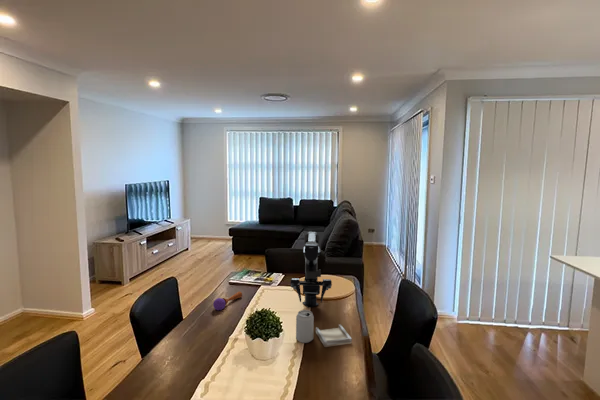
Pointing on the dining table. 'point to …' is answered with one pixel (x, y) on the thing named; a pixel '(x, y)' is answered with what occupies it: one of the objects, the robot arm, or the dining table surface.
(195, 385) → the dining table surface
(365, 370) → the dining table surface
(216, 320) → the dining table surface
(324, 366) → the dining table surface
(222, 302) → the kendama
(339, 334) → the rail dock
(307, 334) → the can
